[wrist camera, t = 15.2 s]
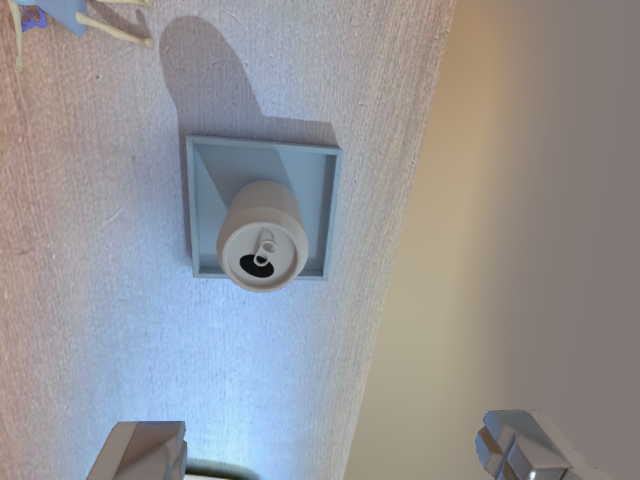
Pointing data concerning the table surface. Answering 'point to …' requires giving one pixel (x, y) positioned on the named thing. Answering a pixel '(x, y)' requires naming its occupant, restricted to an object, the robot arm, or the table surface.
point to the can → (262, 238)
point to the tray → (253, 165)
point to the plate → (203, 477)
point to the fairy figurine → (70, 20)
